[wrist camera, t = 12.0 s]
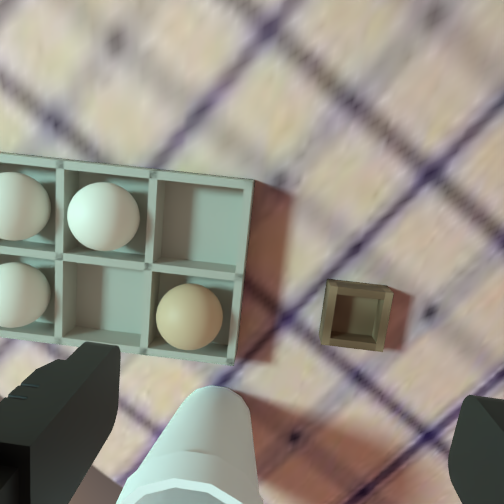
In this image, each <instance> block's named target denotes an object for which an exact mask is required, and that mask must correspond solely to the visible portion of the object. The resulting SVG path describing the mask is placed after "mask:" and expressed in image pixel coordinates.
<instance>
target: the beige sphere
mask: <svg viewBox="0 0 504 504" xmlns="http://www.w3.org/2000/svg"><path fill="white" fill-rule="evenodd" d="M222 321H223V311H222V307H221V304H220V302H219V300H218V298H217V297H216V295H215V294H214V293H213V292H212V291H210V290H209V289H208V288H206V287H204V286H202V285H198V284H192V283H188V284H182V285H179V286H176V287H174V288H172V289H171V290H169V291H168V292H167V293H166V294H165V295H164V296H163V298H162V299H161V301H160V303H159V305H158V308H157V312H156V322H157V327H158V330H159V332H160V334H161V336H162V337H163V338H164V340H165V341H166V342H168V343H169V344H170V345H172V346H173V347H176V348H178V349H182V350H196V349H199V348H202V347H204V346H206V345H208V344H209V343H210V342H211V341H213V340H214V338H215V337H216V336H217V334H218V333H219V331H220V329H221V326H222Z"/></svg>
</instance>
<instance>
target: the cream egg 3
mask: <svg viewBox="0 0 504 504" xmlns="http://www.w3.org/2000/svg"><path fill="white" fill-rule="evenodd" d="M67 220H68V225H69V228H70V230H71V232H72V234H73V235H74V236H75V238H76V239H77V240H78V241H79V242H80V243H82V244H83V245H85V246H86V247H88V248H91V249H94V250H98V251H112V250H115V249H118V248H121V247H123V246H124V245H126V244H127V243H128V242H129V241H130V240H132V238H133V237H134V236H135V234H136V232H137V230H138V227H139V223H140V213H139V208H138V205H137V203H136V201H135V199H134V198H133V197H132V195H131V194H130V193H129V192H128V191H126V190H125V189H124V188H122V187H120V186H118V185H116V184H112V183H107V182H98V183H93V184H90V185H87V186H85V187H83V188H82V189H81V190H79V191H78V192H77V193H76V194H75V195H74V197H73V198H72V200H71V202H70V204H69V207H68V212H67Z"/></svg>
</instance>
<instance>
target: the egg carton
mask: <svg viewBox="0 0 504 504" xmlns="http://www.w3.org/2000/svg"><path fill="white" fill-rule="evenodd" d="M4 172H16V173H21V174H24V175H27V176H30V177H31V178H33V179H35V180H36V181H38V182H39V183H40V184H41V185H42V186H43V187H44V189H45V190H46V192H47V193H48V196H49V198H50V202H51V214H50V218H49V221H48V222H47V224H46V226H45V227H44V228H43V229H42V230H41V231H40V232H39V233H37V234H36V235H34V236H33V237H30V238H28V239H24V240H17V241H11V240H4V239H1V238H0V265H1V264H5V263H11V262H20V263H25V264H29V265H31V266H33V267H35V268H37V269H38V270H39V271H41V272H42V273H43V274H44V276H45V277H46V279H47V280H48V283H49V285H50V291H51V295H50V302H49V304H48V307H47V309H46V310H45V312H44V313H43V314H42V315H41V316H40V317H39V318H38V319H37V320H35V321H34V322H32V323H30V324H28V325H25V326H22V327H16V328H7V327H1V326H0V337H3V338H11V339H19V340H28V341H36V342H44V343H52V344H60V345H68V346H76V347H80V346H81V345H82V344H83V343H84V342H86V341H88V342H95V343H102V344H110V345H117V346H119V348H120V352H125V353H133V354H141V355H149V356H157V357H165V358H174V359H182V360H190V361H198V362H206V363H214V364H222V365H230V366H234V362H235V357H236V353H237V346H238V337H239V327H240V318H241V308H242V299H243V289H244V280H245V270H246V261H247V251H248V242H249V232H250V222H251V213H252V203H253V194H254V184H255V180H253V179H244V178H235V177H225V176H216V175H207V174H198V173H189V172H179V171H170V170H161V169H152V168H143V167H134V166H124V165H115V164H106V163H97V162H88V161H78V160H69V159H60V158H51V157H42V156H33V155H23V154H14V153H5V152H0V173H4ZM98 182H107V183H112V184H116V185H118V186H120V187H122V188H124V189H125V190H126V191H128V192H129V193H130V194H131V195H132V197H133V198H134V199H135V201H136V203H137V205H138V208H139V213H140V223H139V227H138V230H137V232H136V234H135V236H134V237H133V238H132V240H130V241H129V242H128V243H127V244H126V245H124V246H123V247H121V248H118V249H115V250H112V251H98V250H94V249H91V248H88V247H86V246H85V245H83V244H82V243H80V242H79V241H78V240H77V239H76V238H75V236H74V235H73V234H72V232H71V230H70V228H69V225H68V220H67V212H68V207H69V204H70V202H71V200H72V198H73V197H74V195H75V194H76V193H77V192H78V191H79V190H81V189H82V188H83V187H85V186H87V185H90V184H93V183H98ZM188 283H192V284H198V285H202V286H204V287H206V288H208V289H209V290H210V291H212V292H213V293H214V294H215V295H216V297H217V298H218V300H219V302H220V304H221V307H222V311H223V321H222V326H221V329H220V331H219V333H218V334H217V336H216V337H215V338H214V340H213V341H211V342H210V343H209V344H208V345H206V346H204V347H202V348H199V349H196V350H182V349H178V348H176V347H173V346H172V345H170V344H169V343H168V342H166V341H165V340H164V338H163V337H162V336H161V334H160V332H159V330H158V327H157V322H156V312H157V308H158V305H159V303H160V301H161V299H162V298H163V296H164V295H165V294H166V293H167V292H168V291H169V290H171V289H172V288H174V287H176V286H179V285H182V284H188Z"/></svg>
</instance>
